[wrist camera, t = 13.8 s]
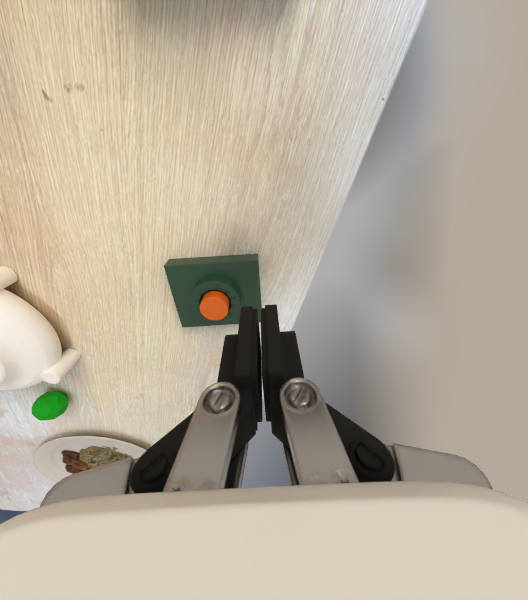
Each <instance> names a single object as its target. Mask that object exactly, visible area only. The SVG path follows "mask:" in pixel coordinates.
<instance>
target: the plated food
mask: <svg viewBox="0 0 528 600" xmlns="http://www.w3.org/2000/svg"><path fill="white" fill-rule="evenodd" d="M146 451H147V450H146V449H144V448H141V447H139V446H136V445H134V444H131V443H128V442H124V441H121V440H116V439H111V438H106V437H96V436H71V437H62V438H58V439H55V440H51V441H49V442H47V443H44V444H42V445H41V446H40V447H39V448H38V449H37V450H36V451H35V453H34V455H33V463H34V465H35V467H36V468H37V469H38V470H39V472H40V473H41V474H43V475H44V476H46V477H47V478H49V479H51V480H53V481H55V482H57V483H58V482H59V481H61V480H62V479H63V478H65V477H67V476H69V475H72V474H74V473H78V472H81V471H85V470H88V469H91V468H95V467H98V466H102V465H105V464H108V463H112V462H115V461H119V460H122V459H125V458H129V457H133V459H135V458H139V457H141V456H142V455H143V454H144V453H145V452H146Z"/></svg>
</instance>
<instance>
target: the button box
mask: <svg viewBox="0 0 528 600" xmlns="http://www.w3.org/2000/svg"><path fill="white" fill-rule="evenodd" d="M164 268H165V271H166V275H167V278H168V281H169V285H170V288H171V291H172V295H173V298H174V301H175V304H176V308H177V311H178V314H179V318H180V321H181V324H182V327H195V326H210V325H226V324H239V321H240V311H241V307H243V306H253V309H257V311H258V322H261V294H260V279H259V265H258V254H248V255H232V256H216V257H200V258H184V259H169V260H168V261H167V263H166V264H165V265H164ZM209 291H220V292H222V293H224V294H225V295H226V296H227V297H228V299H229V309H228V313H227V315H226V316H225V317H224V318H223V319H220V320H209V319H207V318H205V317H204V316H203V315H202V314H201V312H200V304H201V301H202V298H203V296H204V295H205V294H206V293H207V292H209Z"/></svg>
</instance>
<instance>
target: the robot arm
mask: <svg viewBox="0 0 528 600" xmlns="http://www.w3.org/2000/svg"><path fill="white" fill-rule="evenodd" d="M261 351H262V367H261ZM262 380H263V391H264V401H265V412H266V421H271V425H272V433H273V434H274V435H275V436H276V437H277V438H278V439H279V440H280V441H281V443H282V449H283V453H284V458H285V462H286V467H287V471H288V476H289V481H290V485H291V486H277V487H276V486H275V487H254V488H241V485H242V480H243V474H244V468H245V462H246V456H247V450H248V442H249V441H250V439H251V438H252V437H253V436H254V435H255V434H256V430H257V422H262ZM0 600H528V503H527V502H525V501H523V500H520V499H518V498H515V497H513V496H510V495H507V494H505V493H502V492H499V491H496V490H493V489H492V486H491V484H490V482H489V481H488V479H487V478H486V476H485V475H484V473H483V472H482V471H481V470H480V469H479V468H478V467H477V466H476V465H475V464H473V463H472V462H470V461H469V460H467V459H465V458H463V457H460V456H457V455H453V454H448V453H442V452H437V451H431V450H427V449H421V448H416V447H411V446H405V445H399V444H393V446H390V445H385V444H383V443H382V442H381V441H380V440H378V439H377V438H376V437H374V436H373V435H371V434H370V433H368V432H367V431H366V430H364V429H363V428H361V427H360V426H358V425H357V424H355V423H354V422H352V421H351V420H350V419H348V418H347V417H345V416H344V415H342V414H341V413H340V412H338V411H337V410H335V409H334V408H332V407H331V406H329V405H328V404H327V403H325V402H324V399H323V397H322V395H321V393H320V390H319V389H318V387H317V386H316V385H315V384H314V383H313V382H311V381H310V380H308V379H304V375H303V370H302V365H301V360H300V354H299V349H298V344H297V339H296V334H295V331H287V332H280V330H279V322H278V313H277V305H265V308H261V344H260V333H259V322H258V311H257V309H253V306H243V307H241V311H240V321H239V330H238V334H235V335H226V336H225V341H224V346H223V352H222V358H221V364H220V370H219V376H218V381H217V383H215V384H212V385H211V386H209V387H207V388H206V389H205V390H204V391H203V393H202V394H201V396H200V398H199V401H198V403H197V406H196V408H195V411H194V412H193V413H192V414H191V415H190V416H188V417H187V418H186V419H185V420H183V421H182V422H181V423H180V424H179V425H177V426H176V427H175V428H174V429H172V430H171V431H170V432H169V433H168V434H166V435H165V436H164V437H163V438H161V439H160V440H159V441H158V442H156V443H155V444H154V445H153V446H152V447H150V448H149V449H148V450H147V451H146V452H145V453H144V454H143V455H142V456H141V457H139V458H135V459H133V457H129V458H125V459H122V460H119V461H115V462H112V463H108V464H105V465H102V466H98V467H95V468H91V469H88V470H85V471H81V472H78V473H74V474H72V475H69V476H67V477H65V478H63V479H62V480H61V481H59V482H58V483H57V484H55V485H54V486H53V487H52V489H51V490H50V491H49V492H48V493H47V494H46V496H45V498H44V500H43V501H42V503H41V505H40V507H38V508H35V509H33V510H30V511H28V512H25V513H23V514H20V515H18V516H16V517H14V518H12V519H10V520H8V521H6V522H4V523H2V524H0Z"/></svg>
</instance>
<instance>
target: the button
mask: <svg viewBox="0 0 528 600" xmlns="http://www.w3.org/2000/svg"><path fill="white" fill-rule="evenodd" d="M228 309H229V299H228V297H227V296H226V295H225V294H224V293H222V292H220V291H209V292H207V293H206V294H205V295H204V296H203V298H202V301H201V304H200V312H201V314H202V315H203V316H204V317H205V318H207V319H209V320H220V319H223V318H224V317H225V316H226V315H227V313H228Z"/></svg>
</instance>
